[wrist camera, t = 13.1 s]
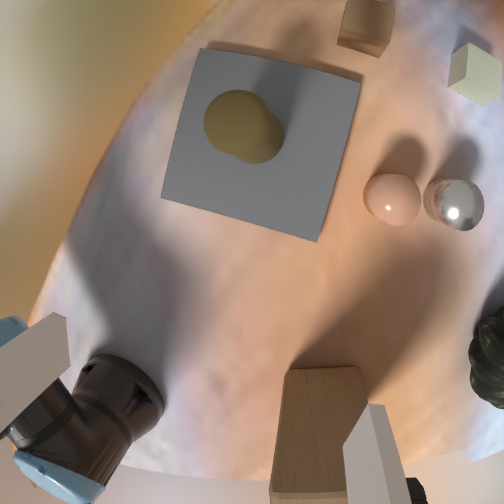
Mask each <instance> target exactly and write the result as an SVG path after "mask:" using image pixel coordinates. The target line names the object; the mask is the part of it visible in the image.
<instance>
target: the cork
mask: <svg viewBox="0 0 504 504" xmlns="http://www.w3.org/2000/svg"><path fill="white" fill-rule="evenodd" d="M203 123H204V131H205V133H206V136H207V138H208V140H209V142H210V143H211V144H212V145H213V146H214V147H215V148H216V149H218V150H220V151H221V152H223V153H226V154H231V155H235V156H236V157H237V158H238V159H240V160H242V161H244V162H246V163H251V164H259V163H264V162H267V161H269V160H271V159H272V158H273V157H275V156H276V155H277V154H278V153H279V151H280V149H281V148H282V146H283V142H284V129H283V126H282V124H281V122H280V120H279V119H278V118H277V117H276V116H275V115H274V114H273V113H271V112H270V110H269V108H268V106H267V104H266V102H265V101H264V100H263V99H262V98H261V97H260V96H259V95H256V94H254V93H252V92H250V91H246V90H239V89H236V90H230V91H226V92H224V93H222V94H220V95H218V96H217V97H216V98H215V99H214V100H213V101H211V102H210V104H209V106H208V108H207V109H206V111H205V115H204V120H203Z"/></svg>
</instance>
